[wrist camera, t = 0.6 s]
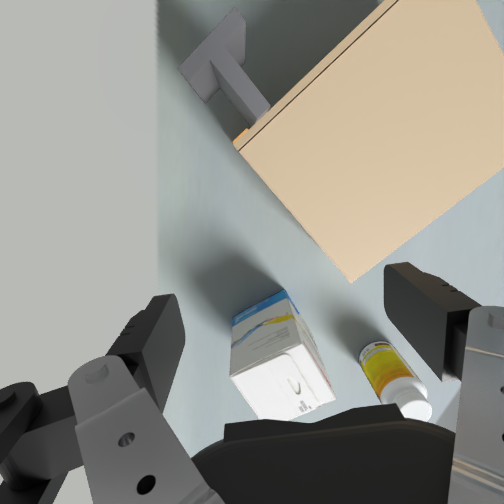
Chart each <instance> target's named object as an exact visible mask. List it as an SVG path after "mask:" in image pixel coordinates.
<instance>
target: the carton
mask: <svg viewBox="0 0 504 504" xmlns="http://www.w3.org/2000/svg"><path fill="white" fill-rule="evenodd" d="M239 153H240V154H241V155H242V156H243V157H244V159H245V160H246V161H247V162H248V163H249V164H250V166H251V167H252V168H253V169H254V170H255V171H256V173H257V174H258V175H259V176H260V177H261V178H262V180H263V181H264V182H265V183H266V184H267V185H268V187H269V188H270V189H271V190H272V191H273V193H274V194H275V195H276V196H277V197H278V198H279V200H280V201H281V202H282V203H283V204H284V205H285V207H286V208H287V209H288V210H289V211H290V212H291V214H292V215H293V216H294V217H295V218H296V219H297V221H298V222H299V223H300V224H301V225H302V226H303V228H304V229H305V230H306V231H307V232H308V234H309V235H310V236H311V237H312V238H313V239H314V241H315V242H316V243H317V244H318V245H319V246H320V248H321V249H322V250H323V251H324V252H325V253H326V255H327V256H328V257H329V258H330V259H331V260H332V262H333V263H334V264H335V265H336V266H337V267H338V269H339V270H340V271H341V272H342V273H343V275H344V276H345V277H346V278H347V279H348V280H349V282H350V283H352V282H354V281H355V280H356V279H358V278H359V277H360V276H362V275H363V274H364V273H366V272H367V271H368V270H370V269H371V268H372V267H374V266H375V265H376V264H377V263H379V262H380V261H381V260H383V259H384V258H385V257H387V256H388V255H389V254H391V253H392V252H393V251H395V250H396V249H397V248H399V247H400V246H401V245H402V244H404V243H405V242H406V241H408V240H409V239H410V238H412V237H413V236H414V235H416V234H417V233H418V232H420V231H421V230H422V229H423V228H425V227H426V226H427V225H429V224H430V223H431V222H433V221H434V220H435V219H437V218H438V217H439V216H441V215H442V214H443V213H445V212H446V211H447V210H448V209H450V208H451V207H452V206H454V205H455V204H456V203H458V202H459V201H460V200H462V199H463V198H464V197H466V196H467V195H468V194H469V193H471V192H472V191H473V190H475V189H476V188H477V187H479V186H480V185H481V184H483V183H484V182H485V181H487V180H488V179H489V178H491V177H492V176H493V175H494V174H496V173H497V172H498V171H500V170H501V169H502V168H504V54H503V52H502V50H501V48H500V46H499V44H498V42H497V40H496V38H495V37H494V35H493V33H492V31H491V29H490V27H489V25H488V23H487V21H486V19H485V17H484V15H483V13H482V11H481V9H480V7H479V5H478V3H477V2H476V0H399V1H398V2H397V3H396V4H395V5H394V6H393V7H392V8H390V9H389V10H388V11H387V12H386V13H385V14H384V15H383V16H382V17H381V18H380V19H379V20H378V21H377V22H376V23H375V24H374V25H372V26H371V27H370V28H369V29H368V30H367V31H366V32H365V33H364V34H363V35H362V36H361V37H360V38H359V39H358V40H357V41H356V42H354V43H353V44H352V45H351V46H350V47H349V48H348V49H347V50H346V51H345V52H344V53H343V54H342V55H341V56H340V57H339V58H338V59H336V60H335V61H334V62H333V63H332V64H331V65H330V66H329V67H328V68H327V69H326V70H325V71H324V72H323V73H322V74H321V75H320V76H318V77H317V78H316V79H315V80H314V81H313V82H312V83H311V84H310V85H309V86H308V87H307V88H306V89H305V90H304V91H303V92H302V93H300V94H299V95H298V96H297V97H296V98H295V99H294V100H293V101H292V102H291V103H290V104H289V105H288V106H287V107H286V108H285V109H283V110H282V111H281V112H280V113H279V114H278V115H277V116H276V117H275V118H274V119H273V120H272V121H271V122H270V123H269V124H268V125H267V126H265V127H264V128H263V129H262V130H261V131H260V132H259V133H258V134H257V135H256V136H255V137H254V138H253V139H252V140H251V141H250V142H249V143H247V144H246V145H245V146H244V147H243V148H242V149H241V150H240V151H239Z"/></svg>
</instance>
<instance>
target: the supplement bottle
mask: <svg viewBox="0 0 504 504" xmlns="http://www.w3.org/2000/svg"><path fill="white" fill-rule="evenodd" d="M359 362H360V366H361V368H362V370H363V372H364V373H365V375H366V377H367V379H368V380H369V382H370V384H371V386H372V388H373V389H374V391H375V393H376V395H377V397H378V399H379V400H380V402H381V404H382V405H383V404H392V403H396V404H397V406H398V407H399V409H400V411H401V413H402V414H403V416H404V418H412V419H417V420H422V421H425V422H426V421H427V420H428V419H429V418H430V416H431V414H432V407H431V405H430V404H429V402H428V401H427V390H426V387H425V386H424V384H423V383H422V381H421V380H420V379H419V378H418V376H417V375H416V374H415V373H414V371H413V370H412V369H411V367H410V366H409V365H408V364H407V362H406V361H405V360H404V358H403V357H402V356H401V355H400V353H399V352H398V351H397V350H396V348H395V347H394V346H393V345H391V344H389V343H387V342H382V341H378V342H373V343H371V344H369V345H367V346H366V347H365V348H364V349H363V350H362V352H361V354H360V357H359Z"/></svg>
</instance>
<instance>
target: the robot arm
mask: <svg viewBox="0 0 504 504" xmlns="http://www.w3.org/2000/svg"><path fill="white" fill-rule="evenodd" d="M384 308H385V311H386V314H387V316H388V318H389V319H390V321H391V322H392V323H393V324H394V325H395V327H396V328H397V329H398V330H399V331H400V333H401V334H402V335H403V336H404V337H405V339H406V340H407V341H408V342H409V343H410V344H411V346H412V347H413V348H414V349H415V350H416V352H417V353H418V354H419V355H420V356H421V358H422V359H423V360H424V361H425V362H426V364H427V365H428V366H429V367H430V368H431V369H432V371H433V372H434V373H435V374H436V375H437V377H438V378H439V379H440V380H441V381H442V382H446V381H454V380H460V381H461V391H460V400H459V409H458V418H457V427H456V433H454V432H452V431H450V430H448V429H446V428H443V427H440V426H438V425H435V424H432V423H429V422H425V421H422V420H417V419H412V418H404V416H403V414H402V413H401V411H400V409H399V407H398V406H397V404H396V403H392V404H383V405H375V406H367V407H359V408H352V409H350V410H347V411H344V412H342V413H339V414H336V415H334V416H331V417H328V418H326V419H323V420H320V421H318V422H315V423H301V422H292V421H282V420H273V419H261V420H253V421H245V422H236V423H228V424H225V428H224V439H222V440H220V441H217V442H215V443H213V444H211V445H209V446H208V447H206V448H204V449H203V450H201V451H200V452H198V453H197V454H196V455H194V456H193V457H192V458H190V457H189V455H188V454H187V452H186V451H185V449H184V448H183V446H182V444H181V443H180V441H179V440H178V438H177V437H176V435H175V434H174V432H173V430H172V429H171V427H170V426H169V424H168V423H167V421H166V420H165V418H164V416H163V415H162V414H163V410H164V407H165V404H166V401H167V398H168V395H169V392H170V389H171V386H172V383H173V379H174V376H175V373H176V370H177V367H178V364H179V361H180V358H181V355H182V352H183V348H184V345H185V329H184V325H183V321H182V317H181V313H180V309H179V305H178V301H177V298H176V296H175V294H166V295H159V296H154V297H153V298H152V300H151V301H150V303H149V305H148V306H147V307H146V309H145V310H141V311H140V312H139V313H137V314H136V315H135V316H133V317H132V318H131V319H130V321H129V322H128V323H127V325H126V326H125V329H123V331H122V332H121V333H120V336H118V338H117V339H116V341H115V342H114V344H113V345H112V346H111V348H110V349H109V351H108V353H107V354H106V355H105V356H103V357H99V358H96V359H94V360H92V361H89V362H88V363H86V364H84V365H82V366H81V367H80V368H78V369H77V370H76V371H75V372H74V373H73V374H72V375H71V377H70V378H69V380H68V385H67V386H64V387H61V388H58V389H55V390H52V391H50V392H47V393H44V394H41V395H39V394H38V391H37V389H36V387H35V385H34V384H33V383H31V382H20V383H16V384H12V385H10V386H7V387H5V388H3V389H1V390H0V474H1V475H2V477H3V479H4V480H3V482H2V483H1V485H0V504H53V502H54V500H55V498H56V496H57V494H58V492H59V490H60V488H61V486H62V484H63V482H64V480H65V478H66V476H67V474H68V472H69V471H71V470H73V469H75V468H78V467H80V466H83V465H84V468H85V472H86V476H87V480H88V484H89V488H90V492H91V496H92V500H93V504H504V307H499V306H482V305H480V304H479V303H477V302H476V301H474V300H473V299H471V298H470V297H468V296H467V295H465V294H464V293H462V292H461V291H458V290H457V289H456V288H454V287H453V286H451V285H449V284H448V283H447V282H445V281H444V280H442V279H441V278H439V277H437V276H434V275H431V274H428V273H425V272H424V273H423V272H422V271H420V270H419V269H417V268H416V267H415V266H413V265H412V264H410V263H409V262H403V263H395V264H388V265H386V266H385V268H384Z"/></svg>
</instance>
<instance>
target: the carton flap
mask: <svg viewBox="0 0 504 504" xmlns="http://www.w3.org/2000/svg"><path fill="white" fill-rule="evenodd" d="M397 1H398V0H384V1H383V2H382V3H381V4H380V5H379V6H378V7H377V8H376V9H375V10H374V11H373V12H372V13H371V14H370V15H368V16H367V17H366V18H365V19H364V20H363V21H362V22H361V23H360V24H359V25H358V26H357V27H356V28H355V29H354V30H353V31H352V32H351V33H350V34H349V35H348V36H346V37H345V38H344V39H343V40H342V41H341V42H340V43H339V44H338V45H337V46H336V47H335V48H334V49H333V50H332V51H331V52H330V53H329V54H328V55H327V56H326V57H324V58H323V59H322V60H321V61H320V62H319V63H318V64H317V65H316V66H315V67H314V68H313V69H312V70H311V71H310V72H309V73H308V74H307V75H306V76H305V77H304V78H302V79H301V80H300V81H299V82H298V83H297V84H296V85H295V86H294V87H293V88H292V89H291V90H290V91H289V92H288V93H287V94H286V95H285V96H284V97H283V98H282V99H280V100H279V101H278V102H277V103H276V104H275V105H274V106H273V107H272V108H271V109H270V110H269V108H270V106H271V105H270V104H269V103H268V101H267V100H266V99H265V98H264V96H263V95H262V94H261V92H260V91H259V90H258V89H257V87H256V86H255V85H254V83H253V82H252V81H251V80H250V78H249V77H248V76H247V75H246V73H245V72H244V71H243V69H242V68H241V66H242V65H243V64H244V63H245V41H246V21H245V19H244V18H243V17H242V15H241V14H240V13H239V11H238V10H237V9H236V7H234V8H233V9H232V11H231V12H230V13H229V14H228V15H227V16H226V17H225V18H224V19H223V20H222V21H221V22H220V23H219V24H218V26H217V27H216V28H215V29H214V30H213V31H212V32H211V33H210V34H209V35H208V36H207V37H206V38H205V39H204V40H203V42H202V43H201V44H200V45H199V46H198V47H197V48H196V49H195V50H194V51H193V52H192V53H191V54H190V55H189V57H188V58H187V59H186V60H185V61H184V62H183V63H182V64H181V65H180V66H179V67H178V68H177V69H178V70H179V71H180V72H181V74H182V75H183V76H184V78H185V79H186V80H187V81H188V83H189V84H190V85H191V87H192V88H193V89H194V91H195V92H196V93H197V94H198V96H199V97H200V98H201V99H202V100H203V101H204V103H206V102H207V101H208V100H209V99H210V98H211V97H212V96H213V95H214V94H215V93H216V92H217V91H218V90H219V89H221V90H222V91H223V93H224V94H225V95H226V96H227V98H228V99H229V100H230V101H231V102H232V104H233V105H234V106H235V107H236V109H237V110H238V111H239V112H240V113H241V115H242V116H243V117H244V118H245V120H246V121H247V122H248V123H249V124H250V126H251V128H250V129H249V130H248V129H247V128H246V129H245V130H244V131H243V132H242V133H241V134H240V135H239V136H238V137H237V138H236V139H235V140H234V141H233V142H232V143H233V146H234V147H235V148H236V149H237V150H238V151H240V150H241V149H242V148H243V147H244V146H245V145H246V144H247V143H249V142H250V141H251V140H252V139H253V138H254V137H255V136H256V135H257V134H258V133H259V132H260V131H261V130H262V129H263V128H264V127H265V126H267V125H268V124H269V123H270V122H271V121H272V120H273V119H274V118H275V117H276V116H277V115H278V114H279V113H280V112H281V111H282V110H283V109H285V108H286V107H287V106H288V105H289V104H290V103H291V102H292V101H293V100H294V99H295V98H296V97H297V96H298V95H299V94H300V93H301V92H303V91H304V90H305V89H306V88H307V87H308V86H309V85H310V84H311V83H312V82H313V81H314V80H315V79H316V78H317V77H318V76H319V75H321V74H322V73H323V72H324V71H325V70H326V69H327V68H328V67H329V66H330V65H331V64H332V63H333V62H334V61H335V60H336V59H337V58H339V57H340V56H341V55H342V54H343V53H344V52H345V51H346V50H347V49H348V48H349V47H350V46H351V45H352V44H353V43H354V42H355V41H357V40H358V39H359V38H360V37H361V36H362V35H363V34H364V33H365V32H366V31H367V30H368V29H369V28H370V27H371V26H372V25H373V24H375V23H376V22H377V21H378V20H379V19H380V18H381V17H382V16H383V15H384V14H385V13H386V12H387V11H388V10H389V9H390V8H391V7H392V6H393V5H394V4H395V3H396V2H397ZM268 110H269V111H268ZM267 111H268V112H267Z"/></svg>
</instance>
